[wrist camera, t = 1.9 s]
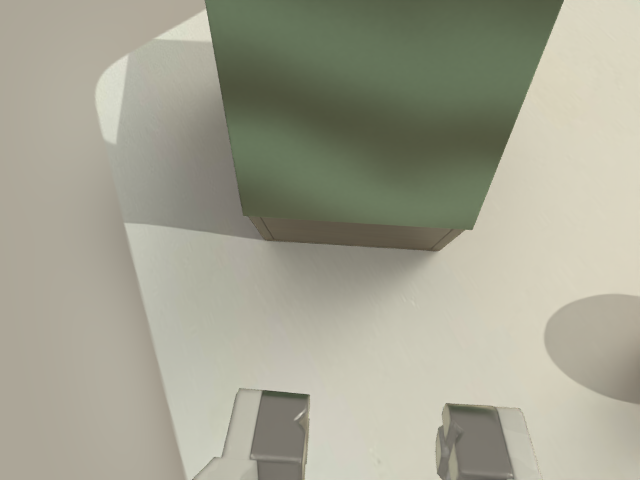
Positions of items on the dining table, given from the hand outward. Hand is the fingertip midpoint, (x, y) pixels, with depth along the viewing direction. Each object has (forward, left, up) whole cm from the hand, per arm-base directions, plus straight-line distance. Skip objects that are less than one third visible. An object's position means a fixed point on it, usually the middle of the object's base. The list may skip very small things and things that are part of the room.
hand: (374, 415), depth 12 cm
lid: (+5, +11, -13) cm, 18 cm away
